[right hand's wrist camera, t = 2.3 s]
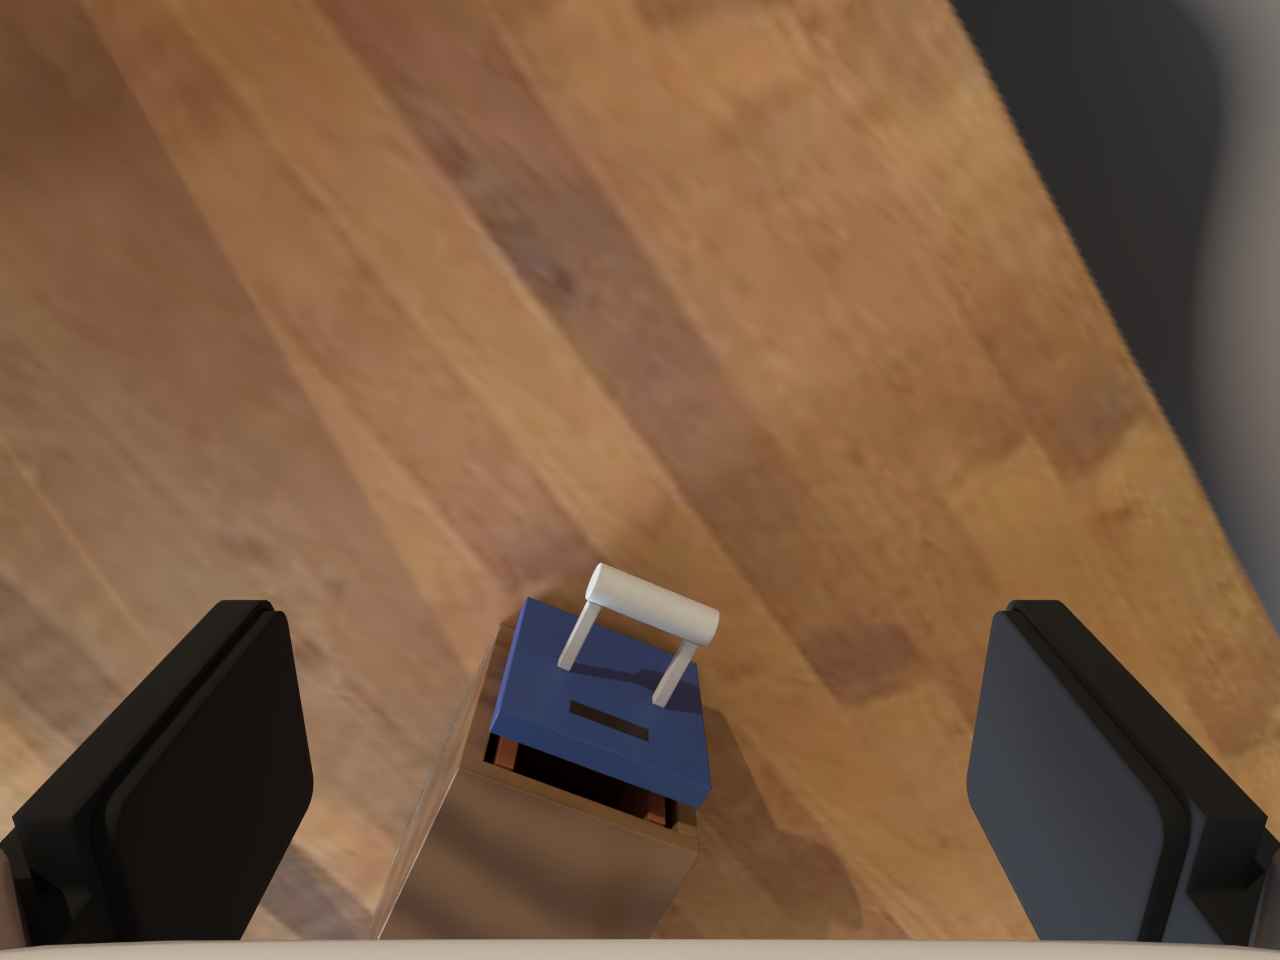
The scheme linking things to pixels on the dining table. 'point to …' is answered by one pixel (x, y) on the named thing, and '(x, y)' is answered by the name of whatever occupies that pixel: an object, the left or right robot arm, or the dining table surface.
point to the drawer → (607, 700)
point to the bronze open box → (524, 848)
